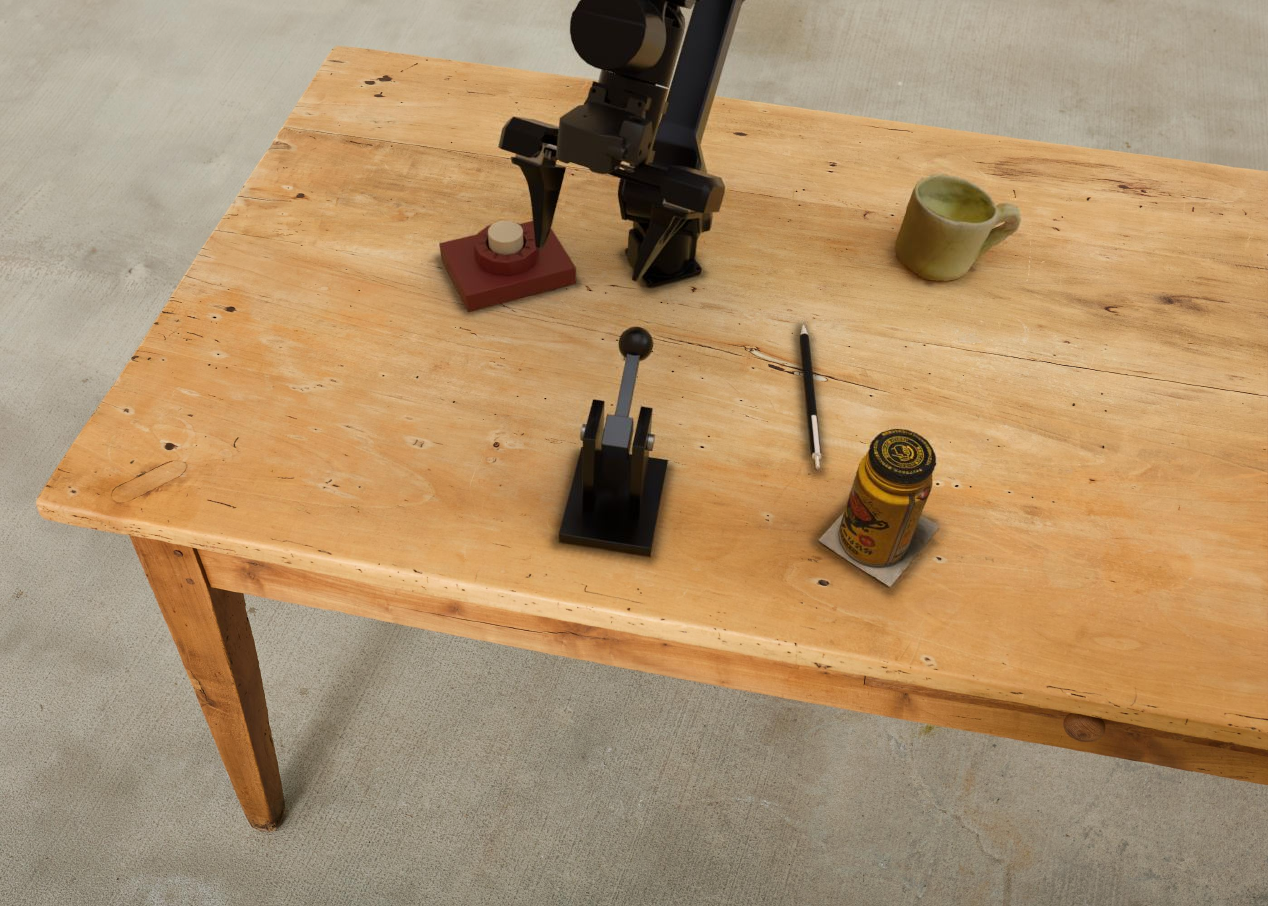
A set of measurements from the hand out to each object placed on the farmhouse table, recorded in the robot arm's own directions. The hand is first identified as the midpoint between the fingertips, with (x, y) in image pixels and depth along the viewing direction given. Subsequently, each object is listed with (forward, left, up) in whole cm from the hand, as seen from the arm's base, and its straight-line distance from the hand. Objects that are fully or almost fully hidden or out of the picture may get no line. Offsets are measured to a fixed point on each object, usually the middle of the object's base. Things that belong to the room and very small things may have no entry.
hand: (586, 263), depth 91 cm
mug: (-45, -2, -15) cm, 47 cm away
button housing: (+1, -18, -15) cm, 24 cm away
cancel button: (+1, -18, -11) cm, 22 cm away
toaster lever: (+1, +10, -6) cm, 12 cm away
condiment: (-17, +26, -15) cm, 35 cm away
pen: (-20, +9, -15) cm, 27 cm away
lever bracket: (+3, +14, -15) cm, 21 cm away
